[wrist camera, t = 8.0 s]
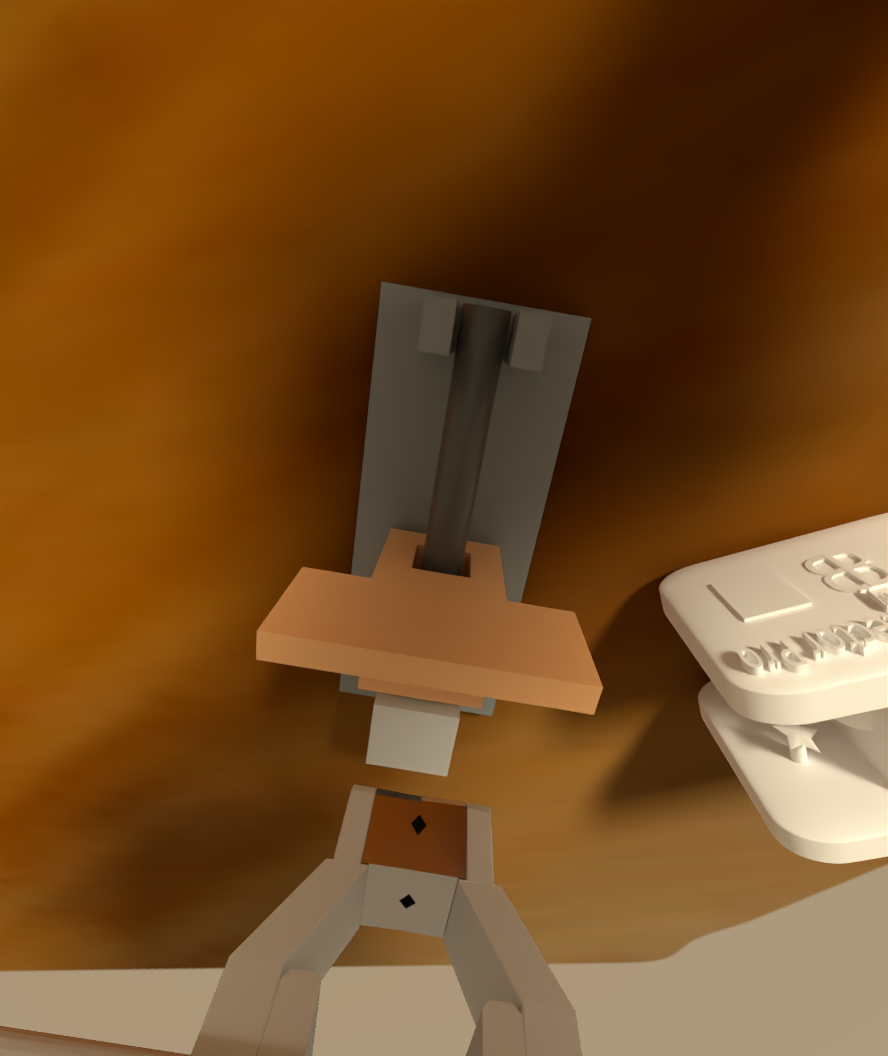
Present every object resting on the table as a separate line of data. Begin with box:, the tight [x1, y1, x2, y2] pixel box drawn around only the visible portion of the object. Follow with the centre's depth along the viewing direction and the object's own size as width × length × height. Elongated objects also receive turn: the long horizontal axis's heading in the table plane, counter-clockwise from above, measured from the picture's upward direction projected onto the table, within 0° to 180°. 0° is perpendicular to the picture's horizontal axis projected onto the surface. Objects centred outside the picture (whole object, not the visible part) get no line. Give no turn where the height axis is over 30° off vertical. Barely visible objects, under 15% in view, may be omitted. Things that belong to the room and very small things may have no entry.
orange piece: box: [256, 528, 603, 715], centre depth 23 cm, size 6×12×11 cm, turn 81°
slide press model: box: [339, 282, 592, 776], centre depth 26 cm, size 24×10×7 cm, turn 171°
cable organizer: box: [659, 513, 888, 863], centre depth 25 cm, size 15×11×12 cm
